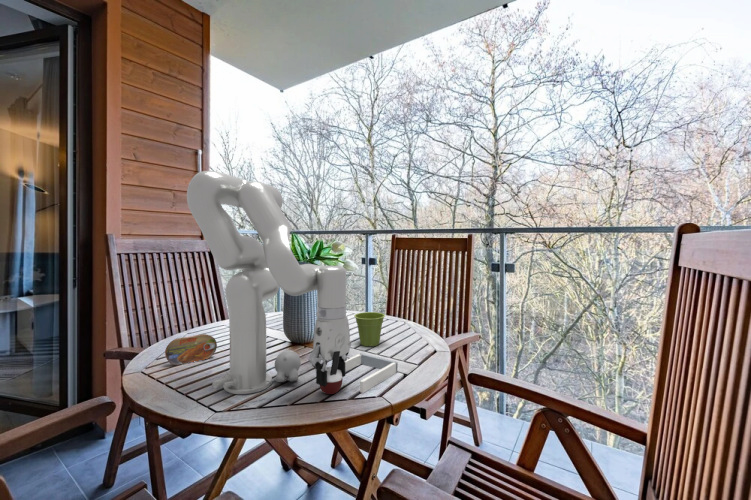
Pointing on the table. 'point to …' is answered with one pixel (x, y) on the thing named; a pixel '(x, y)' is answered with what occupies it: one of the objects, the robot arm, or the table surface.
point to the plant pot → (369, 327)
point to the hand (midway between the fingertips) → (331, 379)
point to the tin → (190, 349)
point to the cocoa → (333, 376)
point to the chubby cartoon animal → (287, 366)
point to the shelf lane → (385, 365)
